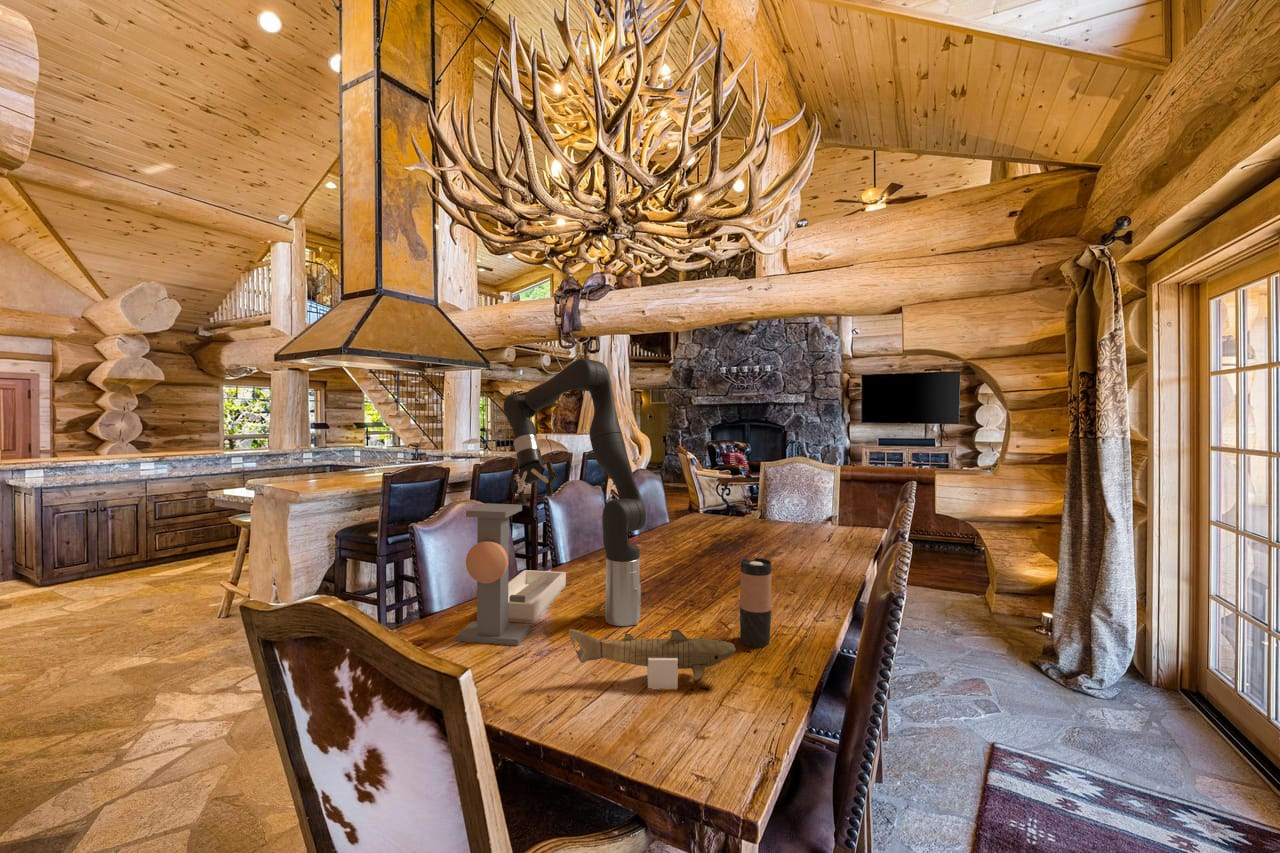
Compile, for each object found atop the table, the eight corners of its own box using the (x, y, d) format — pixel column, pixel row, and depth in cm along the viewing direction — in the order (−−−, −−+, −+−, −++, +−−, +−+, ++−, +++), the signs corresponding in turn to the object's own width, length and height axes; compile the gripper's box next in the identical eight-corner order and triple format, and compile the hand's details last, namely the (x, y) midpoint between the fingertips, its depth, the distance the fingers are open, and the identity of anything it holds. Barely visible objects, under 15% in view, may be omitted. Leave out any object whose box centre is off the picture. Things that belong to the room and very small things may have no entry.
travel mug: (762, 651, 125) (764, 567, 125) (733, 642, 130) (734, 562, 129) (775, 640, 131) (776, 560, 131) (747, 632, 136) (748, 555, 136)
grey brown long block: (550, 587, 168) (550, 575, 168) (522, 611, 147) (522, 597, 147) (538, 586, 169) (539, 574, 169) (509, 610, 147) (509, 596, 147)
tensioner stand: (532, 629, 137) (533, 505, 136) (516, 647, 126) (517, 512, 125) (474, 625, 139) (474, 503, 138) (453, 642, 128) (454, 510, 128)
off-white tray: (565, 587, 170) (565, 572, 170) (533, 623, 141) (534, 604, 141) (524, 585, 172) (524, 570, 172) (484, 619, 143) (484, 601, 143)
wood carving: (570, 671, 114) (570, 620, 114) (730, 671, 115) (731, 621, 115) (565, 693, 105) (566, 637, 105) (739, 693, 106) (739, 638, 106)
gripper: (502, 456, 163) (510, 505, 157) (543, 441, 161) (553, 490, 155) (513, 462, 170) (521, 509, 164) (553, 448, 168) (563, 495, 161)
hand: (537, 500), depth 159 cm, fingers open, 8 cm apart
